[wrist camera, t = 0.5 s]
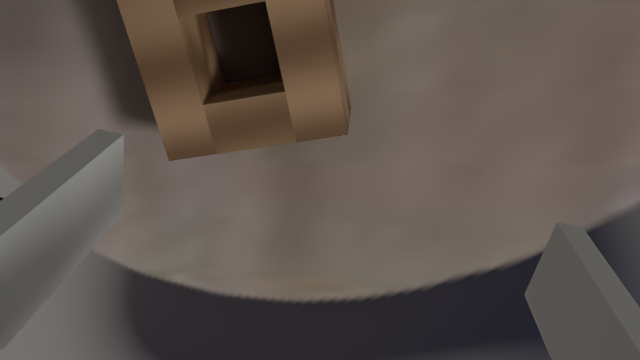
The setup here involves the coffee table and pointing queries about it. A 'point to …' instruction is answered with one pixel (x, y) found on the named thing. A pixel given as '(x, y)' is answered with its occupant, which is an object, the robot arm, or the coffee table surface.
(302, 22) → the wooden square frame
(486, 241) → the coffee table surface
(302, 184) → the coffee table surface
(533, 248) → the coffee table surface
